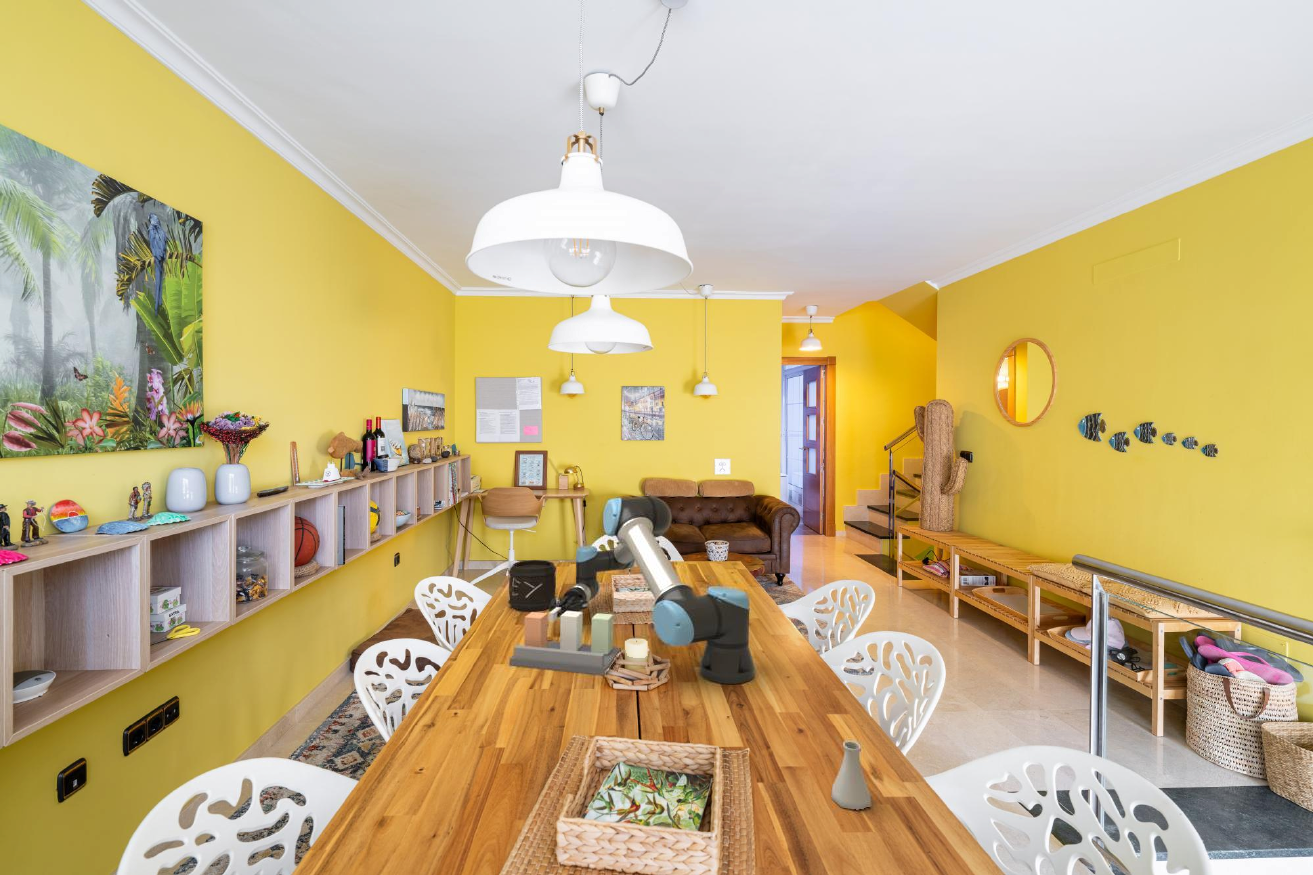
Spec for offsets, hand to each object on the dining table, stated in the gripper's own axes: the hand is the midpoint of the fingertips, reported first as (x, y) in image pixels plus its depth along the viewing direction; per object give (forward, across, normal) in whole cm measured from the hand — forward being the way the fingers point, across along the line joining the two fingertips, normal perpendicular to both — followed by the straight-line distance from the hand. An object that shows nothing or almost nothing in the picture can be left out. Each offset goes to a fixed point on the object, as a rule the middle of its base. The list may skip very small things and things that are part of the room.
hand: (551, 617), depth 188 cm
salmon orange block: (+11, 0, -6) cm, 13 cm away
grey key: (+8, -10, -6) cm, 14 cm away
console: (+11, -10, -8) cm, 17 cm away
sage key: (+8, -19, -6) cm, 21 cm away
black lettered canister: (-36, +22, -9) cm, 43 cm away
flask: (+61, -83, -8) cm, 104 cm away
